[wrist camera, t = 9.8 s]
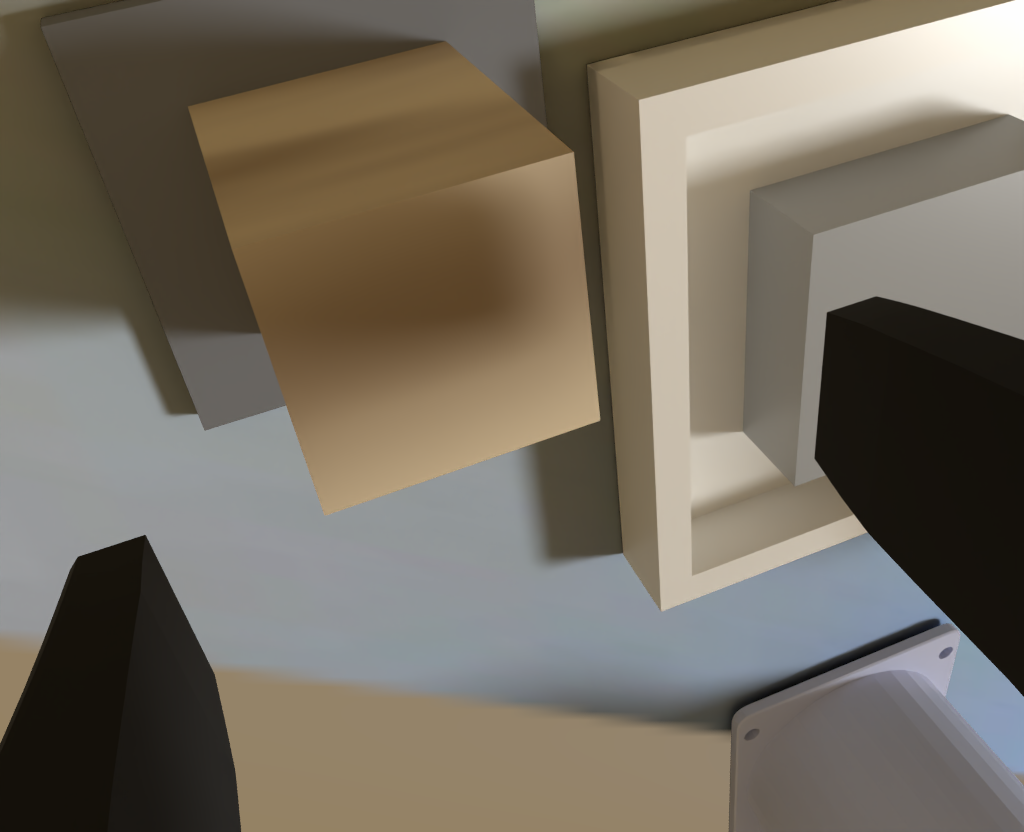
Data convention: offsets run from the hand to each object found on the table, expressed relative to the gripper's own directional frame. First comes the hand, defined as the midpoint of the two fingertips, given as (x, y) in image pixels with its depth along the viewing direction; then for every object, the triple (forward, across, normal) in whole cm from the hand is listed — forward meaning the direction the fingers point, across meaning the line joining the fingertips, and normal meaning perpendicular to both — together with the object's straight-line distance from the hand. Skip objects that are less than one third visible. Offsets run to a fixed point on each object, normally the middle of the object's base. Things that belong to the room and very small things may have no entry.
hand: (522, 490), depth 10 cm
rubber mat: (+8, 0, 0) cm, 8 cm away
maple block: (+8, 0, 0) cm, 8 cm away
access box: (+8, -10, +5) cm, 14 cm away
